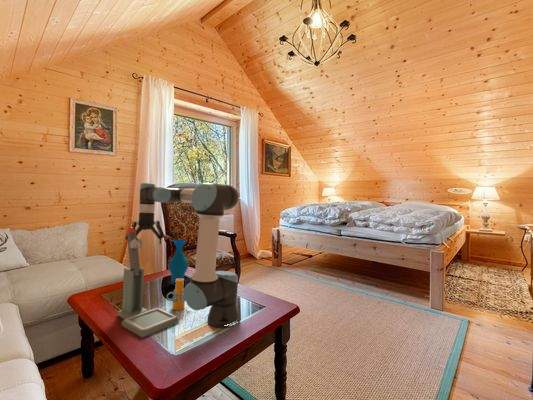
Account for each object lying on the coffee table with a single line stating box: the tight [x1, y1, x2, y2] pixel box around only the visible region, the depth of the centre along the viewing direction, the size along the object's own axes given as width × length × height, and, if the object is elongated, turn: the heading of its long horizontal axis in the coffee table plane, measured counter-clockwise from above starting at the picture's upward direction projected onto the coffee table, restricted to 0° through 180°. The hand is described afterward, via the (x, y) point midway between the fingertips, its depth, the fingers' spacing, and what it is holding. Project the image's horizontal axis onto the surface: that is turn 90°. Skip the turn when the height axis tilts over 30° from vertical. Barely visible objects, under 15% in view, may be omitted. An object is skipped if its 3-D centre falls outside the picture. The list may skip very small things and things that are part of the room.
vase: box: [168, 239, 189, 286], centre depth 183 cm, size 12×13×28 cm
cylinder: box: [166, 278, 186, 311], centre depth 144 cm, size 12×10×15 cm
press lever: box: [126, 226, 143, 277], centre depth 134 cm, size 24×5×6 cm
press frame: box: [117, 267, 180, 338], centre depth 129 cm, size 27×18×22 cm, turn 55°
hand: (145, 251), depth 149 cm, fingers open, 13 cm apart
